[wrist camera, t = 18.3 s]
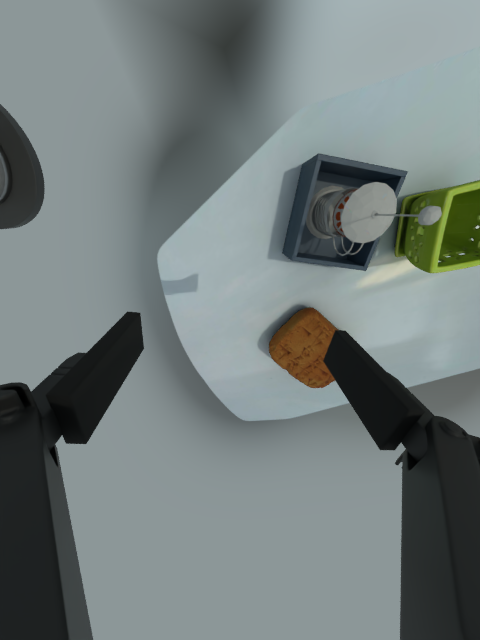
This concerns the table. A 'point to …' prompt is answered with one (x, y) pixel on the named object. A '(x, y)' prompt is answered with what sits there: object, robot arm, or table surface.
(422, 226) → the flower pot
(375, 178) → the tub
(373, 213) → the french press
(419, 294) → the table surface
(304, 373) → the inscribed clay slab
